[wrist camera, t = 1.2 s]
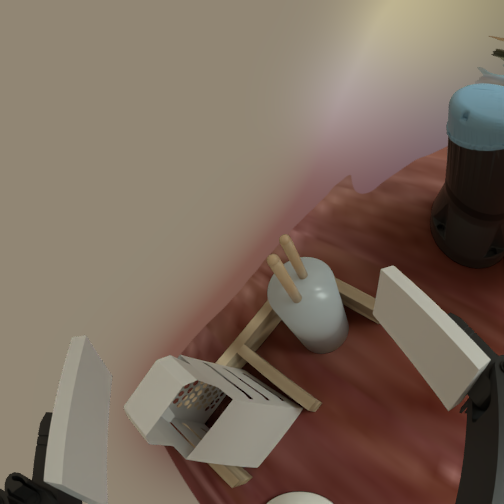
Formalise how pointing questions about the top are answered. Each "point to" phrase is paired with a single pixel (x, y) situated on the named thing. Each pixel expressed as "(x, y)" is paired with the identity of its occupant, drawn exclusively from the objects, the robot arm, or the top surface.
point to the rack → (246, 352)
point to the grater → (210, 412)
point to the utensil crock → (307, 299)
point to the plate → (300, 498)
